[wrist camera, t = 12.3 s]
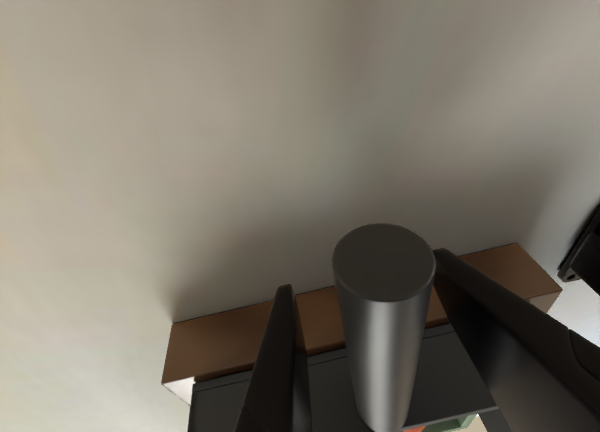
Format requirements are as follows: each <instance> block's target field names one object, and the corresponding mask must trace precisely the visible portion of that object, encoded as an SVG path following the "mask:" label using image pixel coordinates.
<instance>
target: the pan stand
mask: <svg viewBox="0 0 600 432" xmlns="http://www.w3.org/2000/svg"><path fill="white" fill-rule="evenodd" d="M459 258H461V259H462V260H464V261H465V262H467V263H468V264H470V265H471V266H473V267H475V268H476V269H478V270H479V271H481V272H482V273H484V274H485V275H487V276H489V277H490V278H492V279H493V280H495V281H496V282H498V283H499V284H501V285H503V286H504V287H506V288H507V289H509V290H510V291H512V292H513V293H515V294H517V295H518V296H520V297H521V298H523V299H524V300H526V301H527V302H529V303H531V304H533V305H534V306H535V307H537V308H538V309H540V310H541V311H543V312H544V313H547V312H548V310H549V309H550V308H551V306H552V305H553V303H554V302H555V300H556V299H557V298H558V296H559V295H560V293H561V292H562V288H561V287H560V286H559V285H558V284H557V283H556V282H555V281H554V280H553V279H552V278H551V277H550V276H549V275H548V274H547V273H546V272H545V271H544V270H543V269H542V267H541V266H540V265H539V264H538V263H537V262H536V261H535V260H534V259H533V258H532V257H531V256H530V255H529V254H528V253H527V252H526V251H525V250H524V249H523V248H522V247H521V246H520V245H519V244H518V243H515V244H511V245H507V246H503V247H498V248H494V249H490V250H486V251H481V252H477V253H473V254H469V255H464V256H460V257H459ZM295 297H296V300H297V304H298V309H299V314H300V319H301V324H302V329H303V334H304V339H305V345H306V351H307V357H309V356H313V355H317V354H322V353H326V352H330V351H334V350H339V349H343V348H346V344H345V338H344V332H343V326H342V320H341V314H340V308H339V303H338V297H337V291H336V286H333V287H329V288H324V289H320V290H316V291H312V292H307V293H303V294H299V295H295ZM273 302H274V300H273V301H269V302H265V303H261V304H256V305H252V306H248V307H244V308H239V309H235V310H231V311H227V312H222V313H218V314H214V315H210V316H205V317H201V318H197V319H193V320H188V321H184V322H180V323H176V324H173V325H172V328H171V333H170V338H169V344H168V349H167V354H166V360H165V365H164V370H163V376H162V381H161V384H162V385H163V386H164V387H166V388H167V389H168V390H170V391H171V392H172V393H174V394H175V395H176V396H178V397H179V398H180V399H181V400H183V401H184V402H185V403H187V404H188V405H189V406H190V405H191V396H192V387H193V384H194V383H198V382H202V381H206V380H211V379H215V378H219V377H223V376H228V375H232V374H236V373H241V372H245V371H249V370H253V368H254V364H255V361H256V358H257V355H258V351H259V348H260V345H261V341H262V338H263V335H264V332H265V328H266V325H267V322H268V318H269V315H270V312H271V309H272V305H273ZM445 324H450V322H449V320H448V318H447V316H446V313H445V311H444V309H443V307H442V304H441V302H440V300H439V297H438V295H437V293H436V290H435V288H434V286H432V292H431V297H430V302H429V307H428V313H427V318H426V323H425V328H424V329H428V328H433V327H437V326H441V325H445Z"/></svg>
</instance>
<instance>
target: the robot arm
mask: <svg viewBox="0 0 600 432" xmlns="http://www.w3.org/2000/svg"><path fill="white" fill-rule="evenodd" d="M432 252H433V254H434V257H435V261H436V270H435V276H434V281H433V286H434V288H435V290H436V293H437V295H438V297H439V300H440V302H441V304H442V307H443V309H444V311H445V313H446V316H447V318H448V320H449V322H450V323H451V325H452V327H453V329H454V331H455V332H456V334H457V336H458V338H459V339H460V341H461V343H462V345H463V346H464V348H465V350H466V352H467V353H468V355H469V357H470V359H471V361H472V362H473V364H474V366H475V368H476V369H477V371H478V373H479V375H480V376H481V378H482V380H483V382H484V383H485V385H486V387H487V389H488V390H489V392H490V394H491V396H492V397H493V399H494V401H495V403H496V404H497V406H498V408H499V410H500V411H501V413H502V415H503V417H504V418H505V420H506V422H507V424H508V426H509V427H510V429H511V431H512V432H600V347H598V346H596V345H595V344H593V343H591V342H590V341H588V340H587V339H585V338H584V337H582V336H580V335H579V334H577V333H576V332H574V331H573V330H571V329H569V330H568V328H567V327H566V326H565V325H563V324H562V323H560V322H558V321H557V320H555V319H554V318H552V317H551V316H549V315H548V314H546V313H544V312H543V311H541V310H540V309H538V308H537V307H535V306H534V305H532V304H531V303H529V302H527V301H526V300H524V299H523V298H521V297H520V296H518V295H517V294H515V293H513V292H512V291H510V290H509V289H507V288H506V287H504V286H503V285H501V284H499V283H498V282H496V281H495V280H493V279H492V278H490V277H489V276H487V275H485V274H484V273H482V272H481V271H479V270H478V269H476V268H475V267H473V266H471V265H470V264H468V263H467V262H465V261H464V260H462V259H461V258H459V257H457V256H456V255H454V254H453V253H451V252H450V251H448V250H447V249H444V248H440V249H436V250H432ZM557 276H558V277H559V278H560V279H561V280H562V281H563V282H570V281H574V280H579V279H582V280H583V281H584V282H586V283H587V284H588V285H589V286H590V287H591V288H592V289H593V290H594V291H595V292H596V293H597V294H598V295H599V296H600V208H599V210H598V211H597V213H596V214H595V216H594V218H593V219H592V221H591V222H590V224H589V225H588V227H587V229H586V230H585V232H584V233H583V235H582V236H581V238H580V240H579V241H578V243H577V244H576V246H575V247H574V249H573V251H572V252H571V254H570V255H569V257H568V258H567V260H566V262H565V263H564V265H563V266H562V268H561V269H560V271H559V273H558V275H557ZM243 405H244V406H242V407H241V410H240V413H239V417H238V420H237V423H236V426H235V429H234V432H313V425H312V412H311V399H310V386H309V373H308V360H307V351H306V345H305V339H304V334H303V329H302V324H301V319H300V314H299V309H298V304H297V300H296V297H295V294H294V291H293V288H292V285H291V284H287V285H283V286H279V287H278V289H277V292H276V295H275V299H274V302H273V305H272V309H271V312H270V315H269V318H268V322H267V325H266V328H265V332H264V335H263V338H262V341H261V345H260V348H259V351H258V355H257V358H256V361H255V364H254V368H253V371H252V374H251V378H250V381H249V384H248V388H247V391H246V394H245V397H244V401H243Z"/></svg>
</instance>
